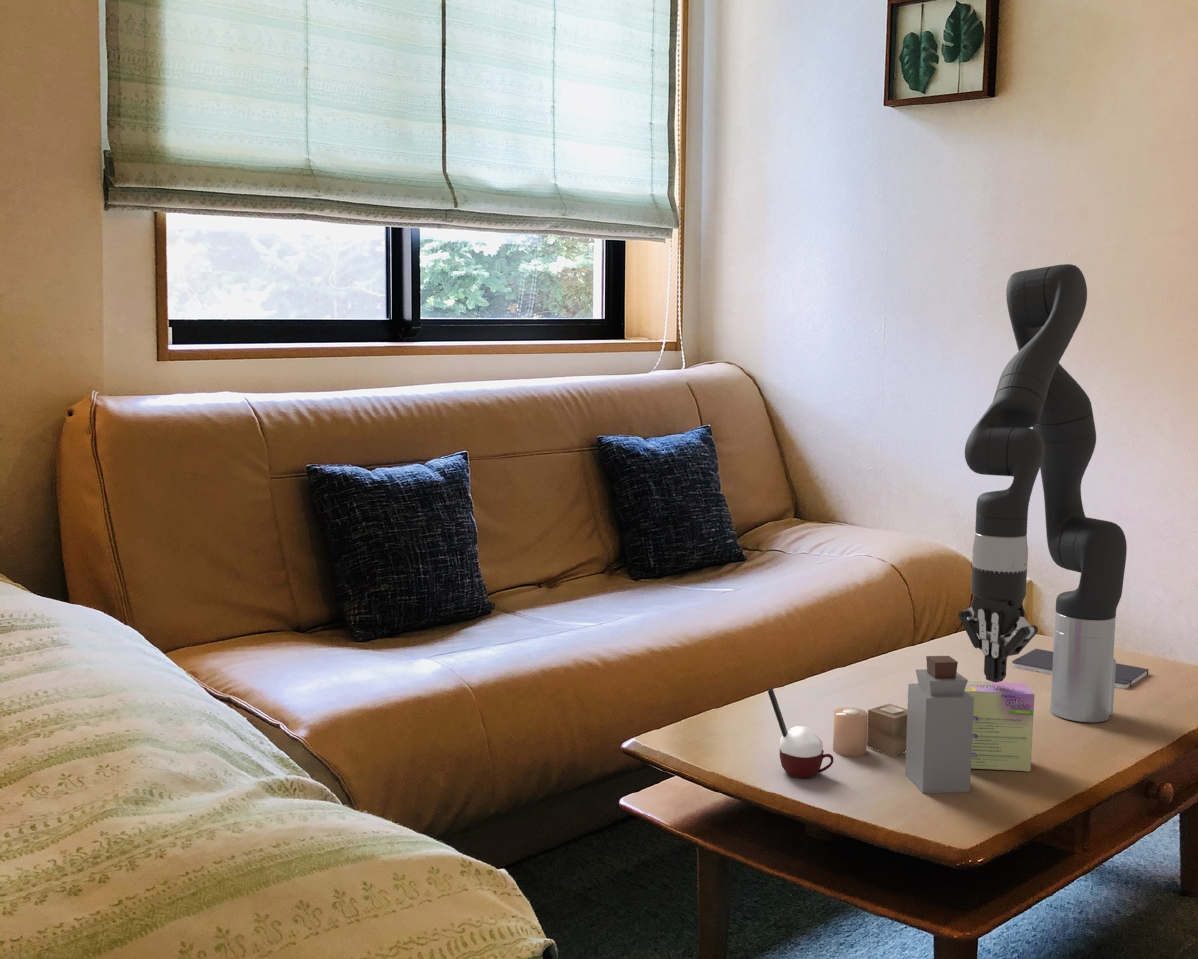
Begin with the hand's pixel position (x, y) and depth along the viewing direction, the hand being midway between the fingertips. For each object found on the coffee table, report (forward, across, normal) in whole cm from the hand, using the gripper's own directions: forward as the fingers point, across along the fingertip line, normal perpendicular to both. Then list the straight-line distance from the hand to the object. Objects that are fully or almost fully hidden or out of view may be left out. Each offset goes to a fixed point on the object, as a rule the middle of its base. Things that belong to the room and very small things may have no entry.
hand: (994, 680), depth 163 cm
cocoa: (+13, +11, +27) cm, 32 cm away
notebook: (+14, +25, -53) cm, 60 cm away
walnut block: (+13, +12, +8) cm, 19 cm away
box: (+13, 0, 0) cm, 13 cm away
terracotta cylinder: (+13, +14, +14) cm, 24 cm away
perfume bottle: (+13, -1, +13) cm, 18 cm away
